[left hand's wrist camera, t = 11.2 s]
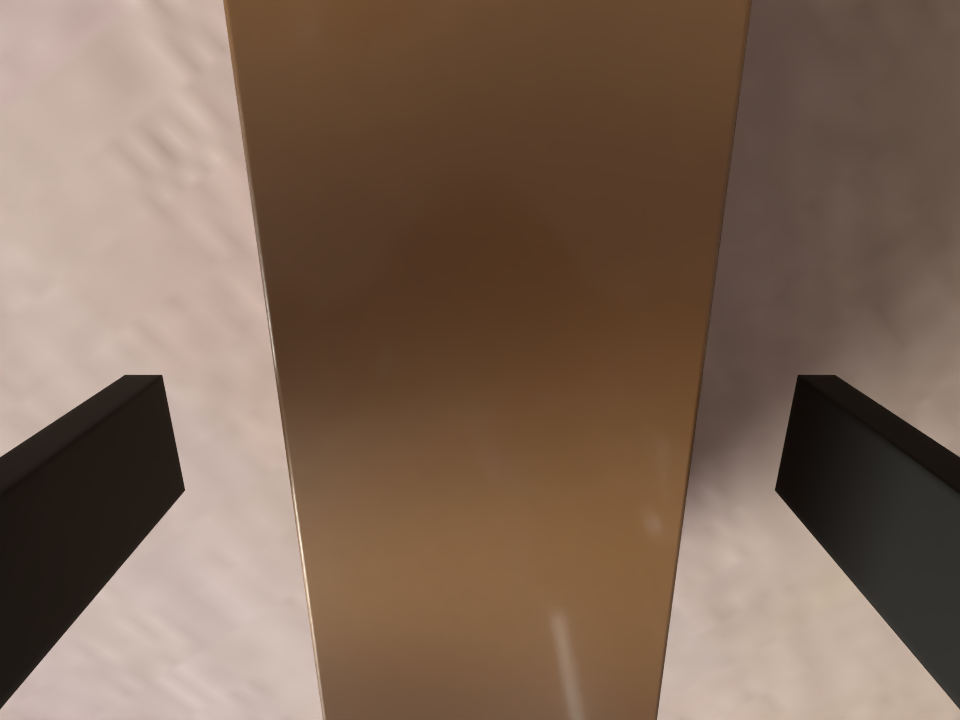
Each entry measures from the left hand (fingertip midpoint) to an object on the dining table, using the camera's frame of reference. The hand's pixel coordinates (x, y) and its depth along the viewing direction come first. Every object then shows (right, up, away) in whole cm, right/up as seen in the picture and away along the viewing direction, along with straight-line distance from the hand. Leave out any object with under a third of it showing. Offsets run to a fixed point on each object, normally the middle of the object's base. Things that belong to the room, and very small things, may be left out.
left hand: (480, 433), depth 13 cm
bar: (0, +21, -3) cm, 21 cm away
